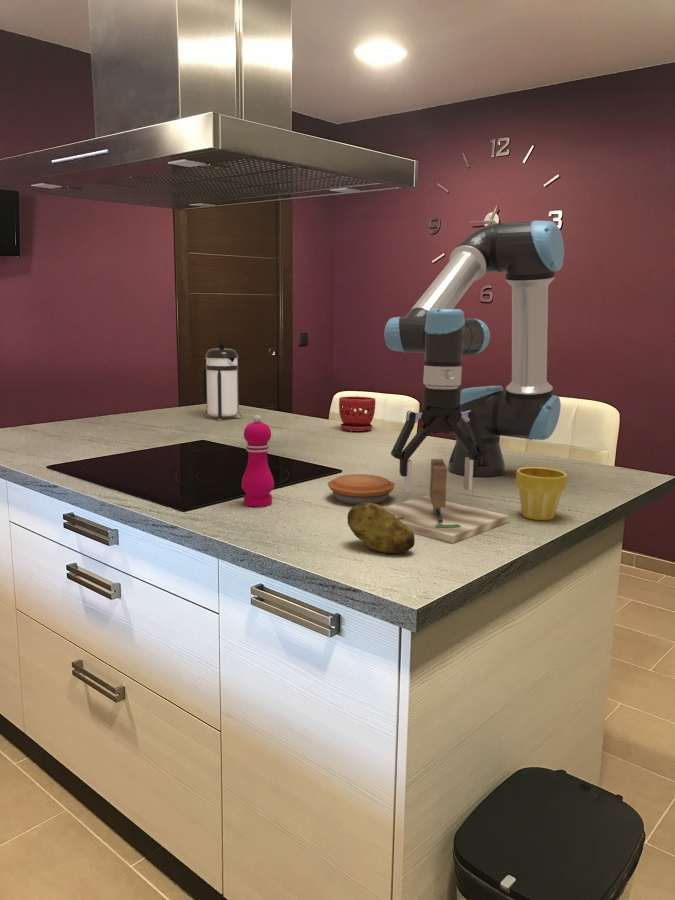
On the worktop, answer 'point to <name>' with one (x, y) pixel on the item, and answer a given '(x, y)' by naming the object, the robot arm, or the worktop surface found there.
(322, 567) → the worktop surface
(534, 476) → the plant pot
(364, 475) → the pie
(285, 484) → the worktop surface
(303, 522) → the worktop surface
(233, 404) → the coffee press
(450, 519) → the plate
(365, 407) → the plant pot
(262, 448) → the pepper mill
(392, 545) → the potato
